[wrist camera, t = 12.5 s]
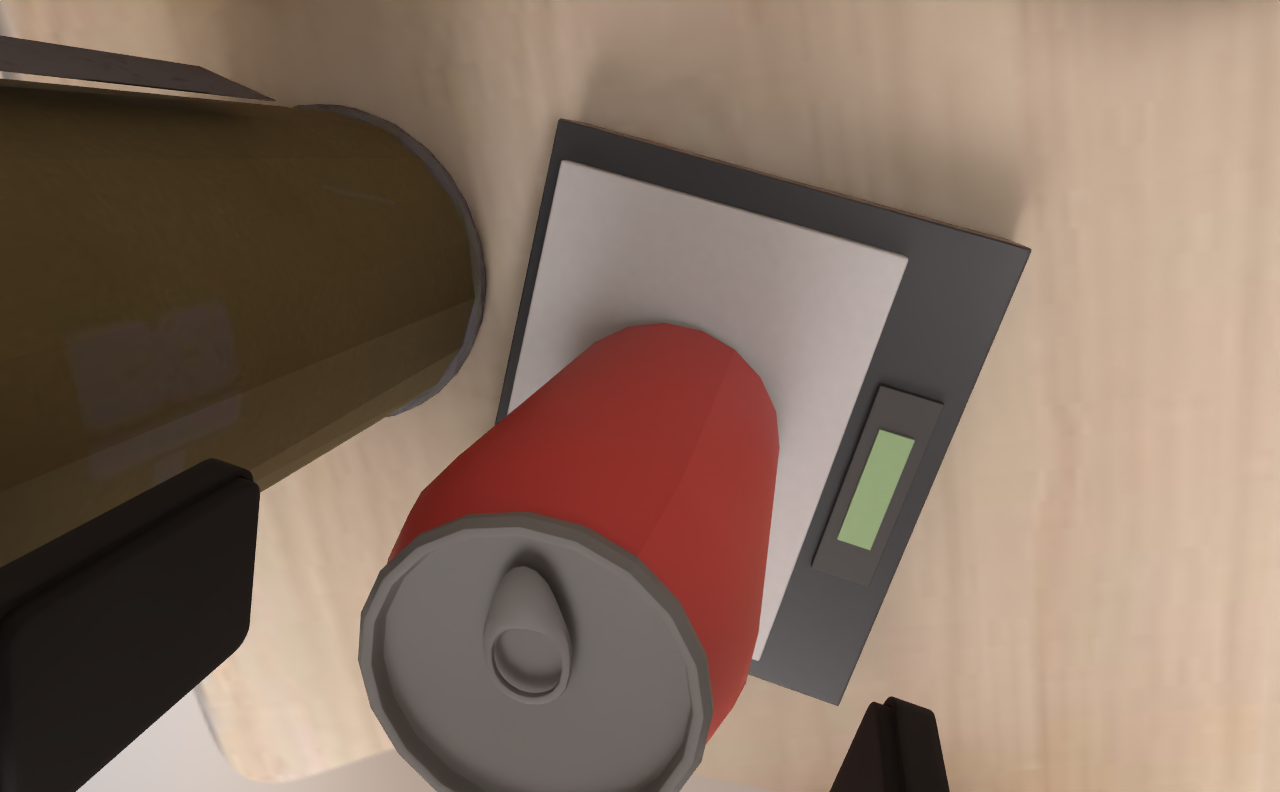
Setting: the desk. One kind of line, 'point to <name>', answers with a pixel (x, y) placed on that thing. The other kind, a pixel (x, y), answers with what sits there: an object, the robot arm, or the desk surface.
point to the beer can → (583, 577)
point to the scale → (780, 351)
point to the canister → (206, 282)
